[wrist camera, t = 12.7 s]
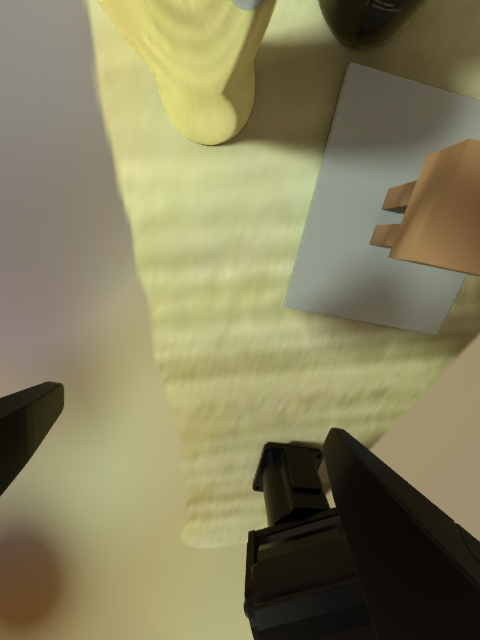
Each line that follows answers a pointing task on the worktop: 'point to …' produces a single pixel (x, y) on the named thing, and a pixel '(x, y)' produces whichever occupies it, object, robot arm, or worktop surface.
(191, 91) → the beer glass
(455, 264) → the walnut stool
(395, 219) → the rubber mat
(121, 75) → the worktop surface
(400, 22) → the supplement bottle
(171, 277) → the worktop surface
